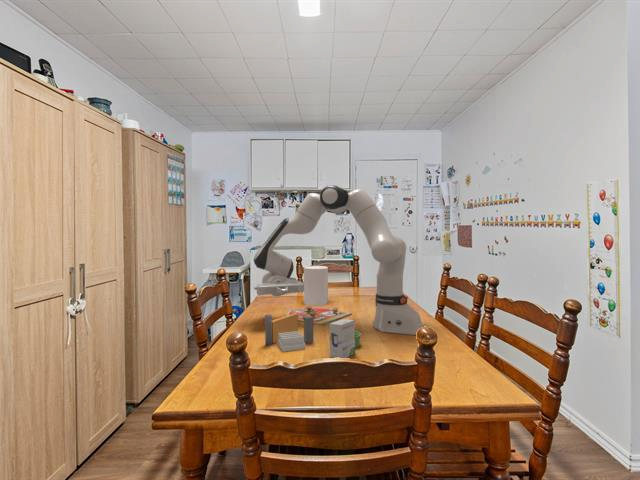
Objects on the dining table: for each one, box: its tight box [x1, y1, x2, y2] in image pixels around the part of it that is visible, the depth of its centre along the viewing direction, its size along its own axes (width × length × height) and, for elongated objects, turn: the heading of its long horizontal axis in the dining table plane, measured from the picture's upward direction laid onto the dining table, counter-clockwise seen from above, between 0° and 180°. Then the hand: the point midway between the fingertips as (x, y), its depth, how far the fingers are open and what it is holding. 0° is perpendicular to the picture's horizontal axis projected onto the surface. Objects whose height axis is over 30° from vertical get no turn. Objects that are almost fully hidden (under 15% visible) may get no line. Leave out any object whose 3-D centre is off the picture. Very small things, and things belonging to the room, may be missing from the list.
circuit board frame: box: [264, 314, 314, 353], centre depth 138 cm, size 20×20×12 cm
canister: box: [303, 265, 329, 307], centre depth 209 cm, size 14×14×20 cm
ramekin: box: [355, 330, 362, 349], centre depth 138 cm, size 9×9×4 cm
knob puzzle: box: [285, 305, 353, 326], centre depth 181 cm, size 29×30×4 cm
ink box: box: [328, 318, 356, 359], centre depth 127 cm, size 9×5×12 cm, turn 141°
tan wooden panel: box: [272, 313, 299, 345], centre depth 142 cm, size 14×2×8 cm, turn 145°
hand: (284, 291), depth 152 cm, fingers closed
